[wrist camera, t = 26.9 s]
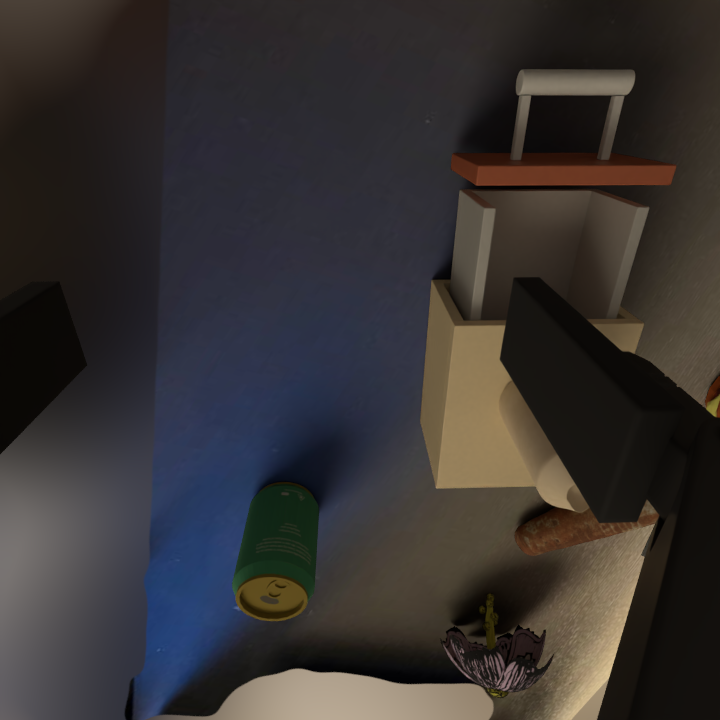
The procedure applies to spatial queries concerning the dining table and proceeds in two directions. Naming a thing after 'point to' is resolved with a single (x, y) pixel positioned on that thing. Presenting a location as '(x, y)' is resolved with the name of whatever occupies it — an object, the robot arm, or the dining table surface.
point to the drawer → (551, 210)
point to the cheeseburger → (714, 399)
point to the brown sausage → (572, 529)
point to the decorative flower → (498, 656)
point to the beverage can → (278, 553)
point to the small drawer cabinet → (478, 395)
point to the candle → (538, 453)
